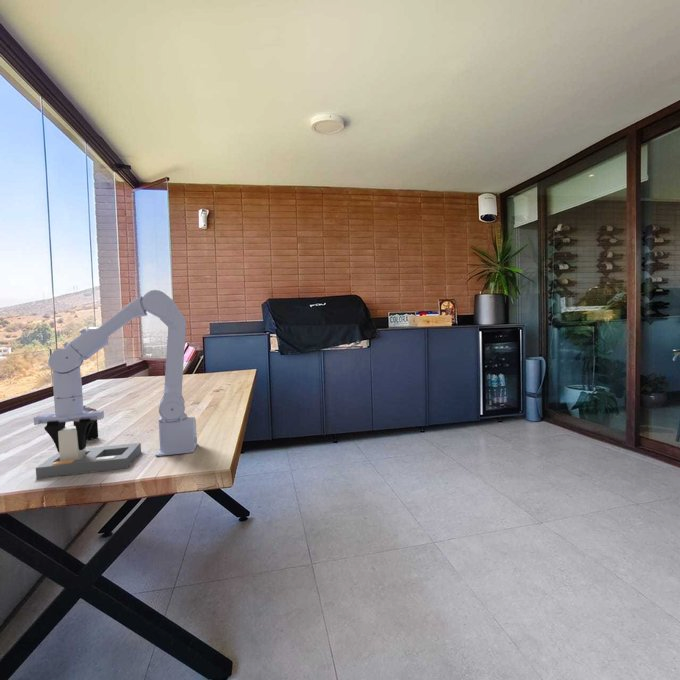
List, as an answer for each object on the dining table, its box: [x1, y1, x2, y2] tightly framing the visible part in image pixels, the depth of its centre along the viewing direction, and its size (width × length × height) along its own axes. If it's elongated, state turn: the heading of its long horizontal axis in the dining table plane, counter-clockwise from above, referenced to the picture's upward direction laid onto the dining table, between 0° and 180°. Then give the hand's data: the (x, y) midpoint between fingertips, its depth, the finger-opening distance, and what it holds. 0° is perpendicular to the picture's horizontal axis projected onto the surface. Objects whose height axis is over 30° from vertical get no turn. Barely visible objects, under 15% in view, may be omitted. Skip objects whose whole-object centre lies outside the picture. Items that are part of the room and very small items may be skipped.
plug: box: [58, 425, 86, 461], centre depth 91 cm, size 4×4×8 cm
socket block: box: [35, 442, 142, 479], centre depth 92 cm, size 19×12×3 cm, turn 104°
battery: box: [72, 405, 99, 441], centre depth 115 cm, size 4×7×10 cm, turn 57°
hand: (72, 449), depth 91 cm, fingers closed on plug, 4 cm apart
